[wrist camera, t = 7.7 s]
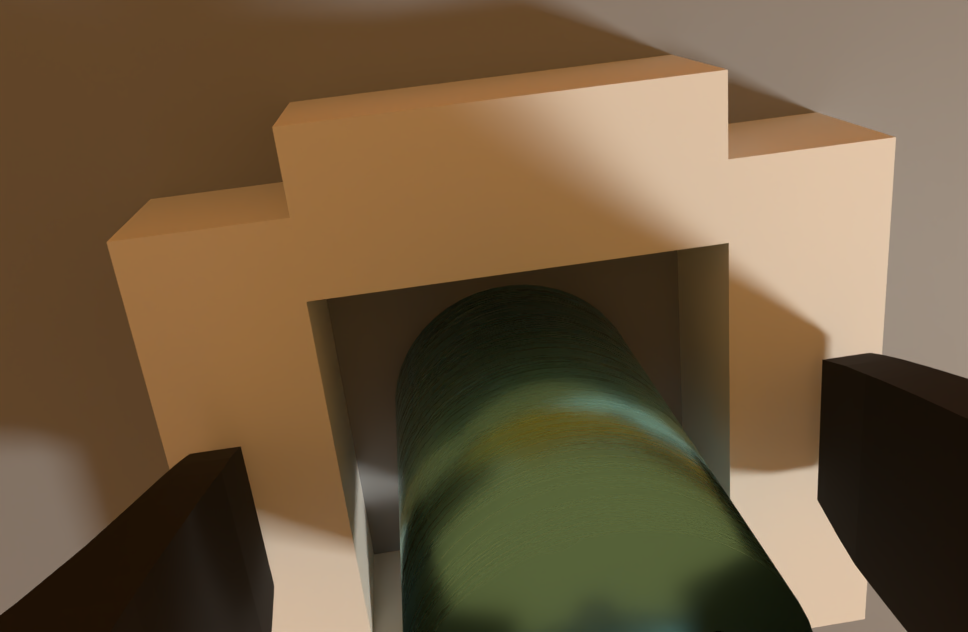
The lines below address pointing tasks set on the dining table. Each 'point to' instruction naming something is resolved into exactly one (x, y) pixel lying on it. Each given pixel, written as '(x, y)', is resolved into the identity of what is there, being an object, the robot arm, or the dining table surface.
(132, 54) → the board
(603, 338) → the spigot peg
